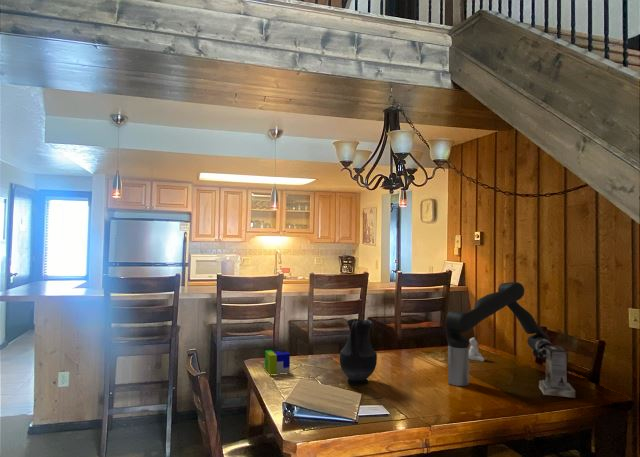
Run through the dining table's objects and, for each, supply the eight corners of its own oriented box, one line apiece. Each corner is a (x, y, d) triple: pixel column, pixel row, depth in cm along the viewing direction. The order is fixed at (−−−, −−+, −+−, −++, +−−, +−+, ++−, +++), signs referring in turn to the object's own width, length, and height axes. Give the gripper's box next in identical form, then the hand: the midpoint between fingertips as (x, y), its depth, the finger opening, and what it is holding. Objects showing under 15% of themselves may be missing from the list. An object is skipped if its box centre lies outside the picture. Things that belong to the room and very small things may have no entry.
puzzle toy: (289, 374, 213) (289, 353, 214) (270, 376, 210) (270, 355, 210) (283, 368, 223) (283, 349, 223) (264, 370, 219) (265, 350, 219)
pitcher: (379, 378, 207) (379, 315, 208) (372, 393, 187) (372, 323, 188) (343, 375, 212) (344, 313, 213) (333, 389, 192) (334, 321, 193)
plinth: (544, 395, 185) (544, 387, 185) (538, 386, 196) (538, 379, 196) (575, 398, 182) (575, 390, 182) (568, 389, 192) (568, 382, 192)
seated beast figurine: (484, 362, 235) (484, 339, 236) (468, 361, 237) (468, 339, 237) (481, 357, 245) (481, 336, 245) (465, 356, 246) (465, 335, 246)
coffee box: (545, 380, 194) (544, 344, 194) (560, 381, 193) (560, 345, 193) (551, 387, 185) (550, 349, 186) (567, 388, 184) (567, 350, 184)
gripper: (529, 339, 213) (535, 347, 198) (561, 341, 209) (570, 349, 194) (529, 354, 213) (535, 364, 198) (561, 357, 209) (570, 366, 193)
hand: (552, 357), depth 196 cm, fingers open, 8 cm apart
